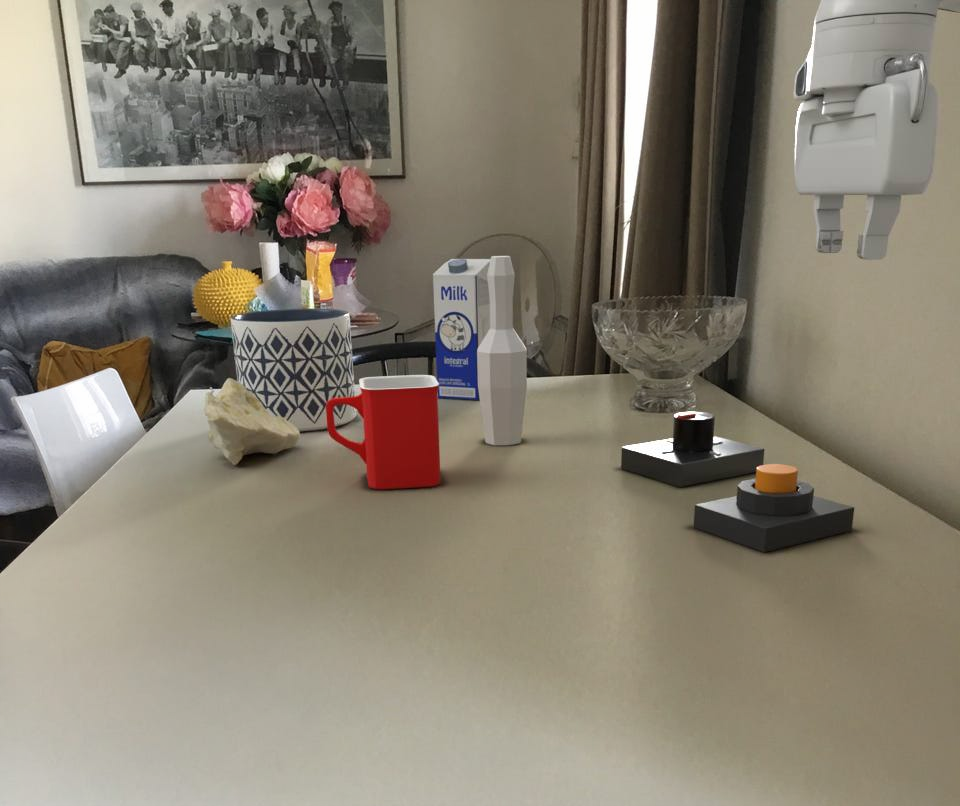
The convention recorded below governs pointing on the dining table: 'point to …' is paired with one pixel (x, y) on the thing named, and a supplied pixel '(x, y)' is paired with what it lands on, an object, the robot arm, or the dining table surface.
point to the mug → (395, 430)
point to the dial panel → (691, 461)
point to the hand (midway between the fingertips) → (848, 255)
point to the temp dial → (693, 431)
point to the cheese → (245, 424)
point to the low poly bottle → (502, 361)
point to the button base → (773, 517)
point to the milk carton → (460, 324)
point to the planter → (296, 363)
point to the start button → (776, 478)
